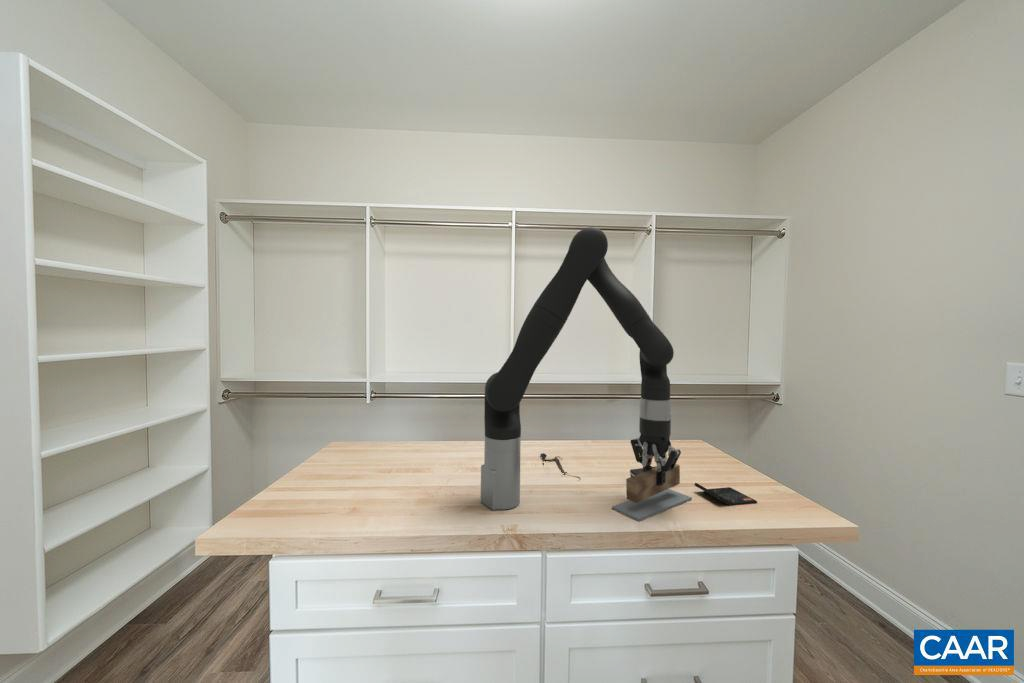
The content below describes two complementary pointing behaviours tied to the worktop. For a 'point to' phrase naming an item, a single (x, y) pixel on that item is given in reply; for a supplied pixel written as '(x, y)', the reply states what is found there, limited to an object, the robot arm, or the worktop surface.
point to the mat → (652, 504)
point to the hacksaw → (556, 462)
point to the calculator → (728, 495)
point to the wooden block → (650, 484)
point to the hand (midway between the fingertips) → (653, 482)
